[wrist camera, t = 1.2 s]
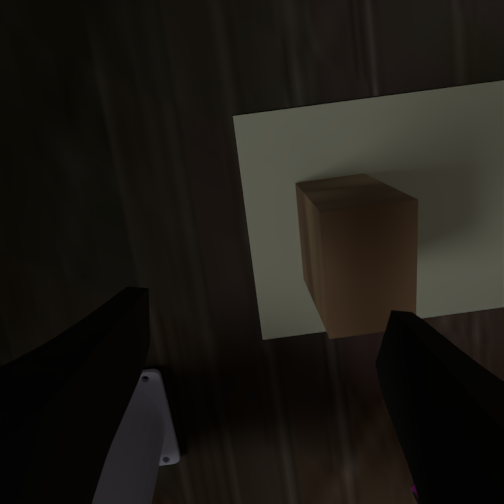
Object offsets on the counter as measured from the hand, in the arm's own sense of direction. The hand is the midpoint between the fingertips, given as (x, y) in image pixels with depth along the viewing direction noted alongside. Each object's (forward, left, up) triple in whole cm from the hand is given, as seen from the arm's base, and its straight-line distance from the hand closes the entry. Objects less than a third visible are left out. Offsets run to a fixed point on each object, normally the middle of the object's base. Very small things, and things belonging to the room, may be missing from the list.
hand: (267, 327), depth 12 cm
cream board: (+9, -1, -13) cm, 15 cm away
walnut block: (+5, -1, -12) cm, 13 cm away
